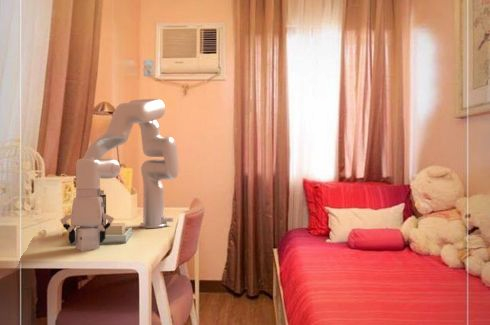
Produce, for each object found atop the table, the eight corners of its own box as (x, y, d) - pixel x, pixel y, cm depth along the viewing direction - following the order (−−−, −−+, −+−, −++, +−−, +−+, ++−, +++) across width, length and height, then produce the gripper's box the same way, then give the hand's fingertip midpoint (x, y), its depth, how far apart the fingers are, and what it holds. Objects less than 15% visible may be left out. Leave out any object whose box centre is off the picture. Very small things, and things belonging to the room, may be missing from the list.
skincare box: (75, 248, 114) (75, 227, 114) (93, 245, 118) (93, 225, 118) (81, 251, 110) (81, 230, 110) (99, 248, 114) (100, 227, 114)
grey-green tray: (131, 234, 135) (131, 227, 135) (125, 243, 121) (125, 235, 121) (80, 236, 131) (80, 229, 131) (68, 245, 117) (68, 237, 117)
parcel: (125, 235, 131) (125, 222, 131) (122, 238, 125) (122, 225, 125) (109, 235, 129) (109, 223, 129) (105, 239, 124) (105, 226, 124)
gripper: (116, 192, 119) (115, 238, 119) (65, 192, 116) (64, 240, 116) (111, 194, 112) (110, 244, 112) (57, 194, 109) (56, 245, 109)
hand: (87, 242), depth 114 cm, fingers open, 9 cm apart
